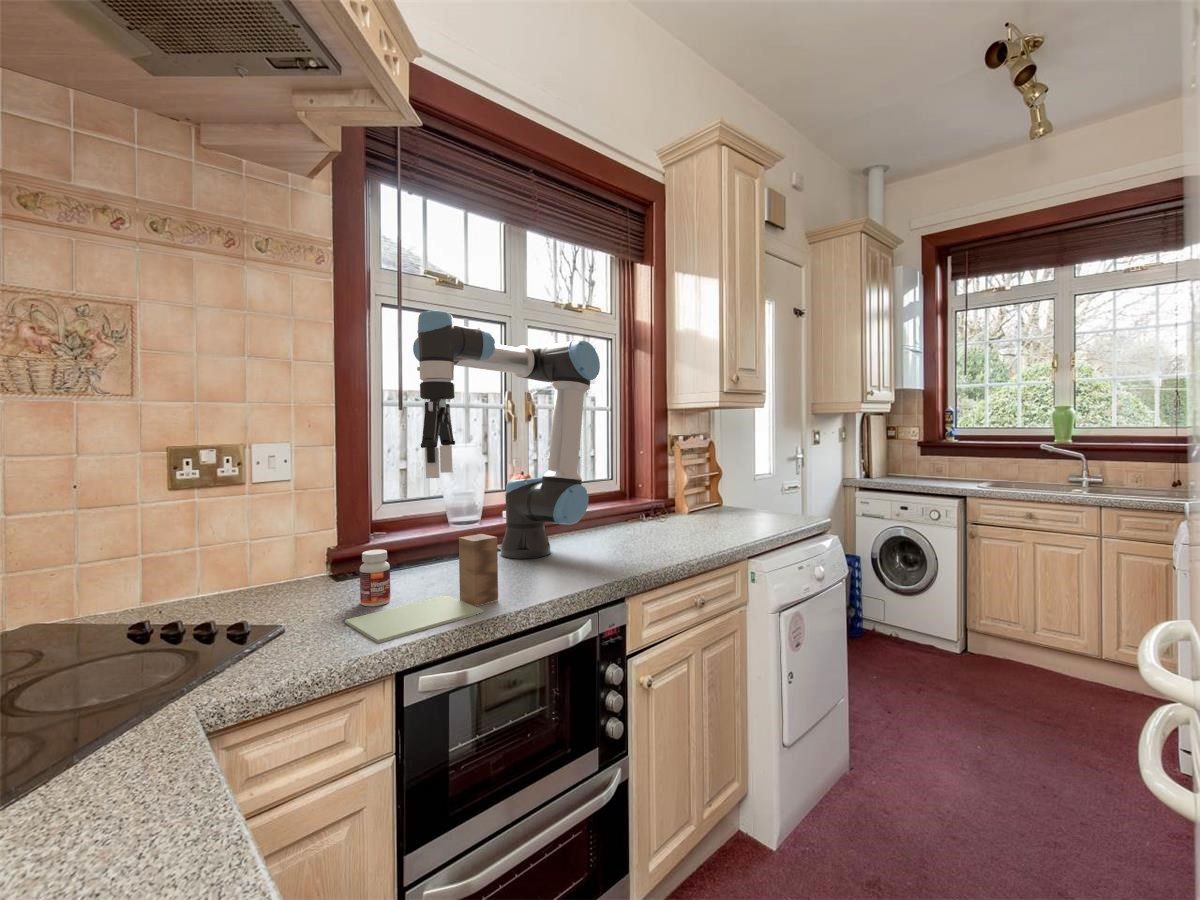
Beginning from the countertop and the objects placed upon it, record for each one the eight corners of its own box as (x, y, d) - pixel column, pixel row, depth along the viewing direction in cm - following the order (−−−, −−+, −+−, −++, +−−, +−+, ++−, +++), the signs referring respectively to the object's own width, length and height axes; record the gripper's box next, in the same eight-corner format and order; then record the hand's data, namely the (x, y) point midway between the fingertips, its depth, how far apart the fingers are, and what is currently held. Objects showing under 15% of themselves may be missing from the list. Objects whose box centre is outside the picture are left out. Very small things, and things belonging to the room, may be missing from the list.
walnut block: (482, 594, 125) (481, 533, 124) (498, 600, 121) (497, 537, 120) (459, 600, 120) (458, 537, 120) (474, 606, 116) (473, 541, 116)
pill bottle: (372, 609, 115) (371, 556, 115) (354, 604, 118) (353, 553, 118) (396, 601, 121) (395, 550, 120) (378, 597, 124) (377, 547, 123)
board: (445, 597, 123) (445, 594, 123) (482, 612, 112) (482, 609, 112) (345, 622, 107) (345, 619, 107) (378, 643, 97) (378, 639, 97)
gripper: (433, 385, 135) (436, 470, 136) (403, 377, 110) (407, 481, 111) (464, 385, 135) (466, 470, 136) (441, 376, 110) (444, 480, 111)
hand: (440, 475), depth 123 cm, fingers open, 13 cm apart
